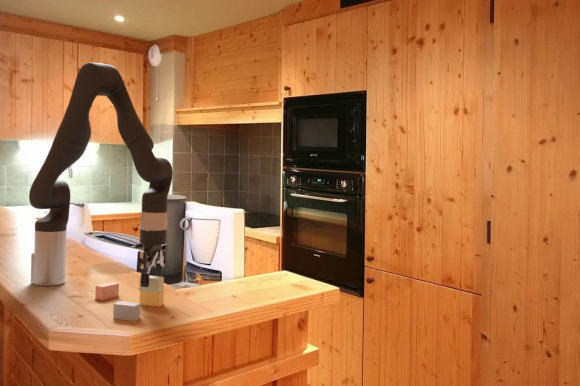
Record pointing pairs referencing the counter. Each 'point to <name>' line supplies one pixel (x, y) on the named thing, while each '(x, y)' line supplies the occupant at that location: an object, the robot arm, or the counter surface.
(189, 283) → the mounting bracket
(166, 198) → the robot arm
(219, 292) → the counter surface
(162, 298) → the mustard brick
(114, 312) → the slate brick
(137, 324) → the counter surface
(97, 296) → the terracotta brick
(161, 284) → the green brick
